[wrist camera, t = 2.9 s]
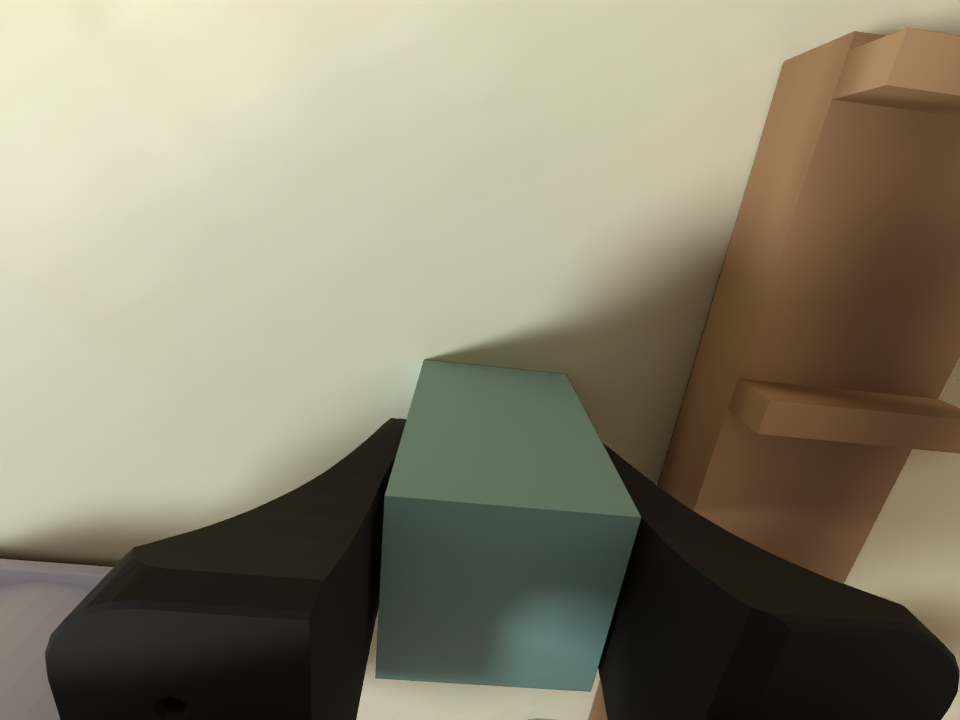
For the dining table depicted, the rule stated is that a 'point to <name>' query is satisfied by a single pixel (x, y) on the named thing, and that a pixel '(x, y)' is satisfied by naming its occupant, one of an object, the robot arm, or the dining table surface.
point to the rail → (831, 306)
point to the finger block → (500, 534)
